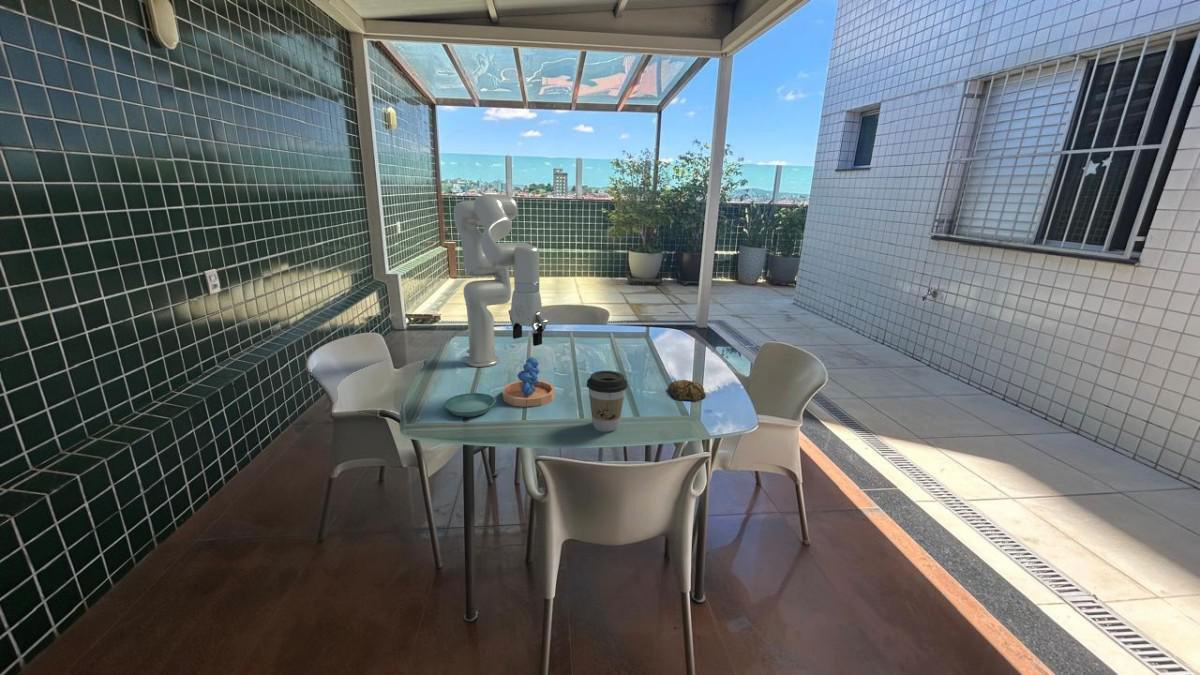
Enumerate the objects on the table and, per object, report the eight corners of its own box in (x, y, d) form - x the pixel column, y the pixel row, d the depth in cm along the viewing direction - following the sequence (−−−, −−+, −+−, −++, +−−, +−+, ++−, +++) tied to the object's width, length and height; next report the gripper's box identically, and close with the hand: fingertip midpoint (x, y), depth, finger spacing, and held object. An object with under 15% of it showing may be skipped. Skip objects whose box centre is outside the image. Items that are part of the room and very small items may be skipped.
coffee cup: (586, 435, 131) (587, 383, 127) (585, 417, 142) (586, 369, 138) (628, 435, 131) (630, 383, 127) (624, 417, 142) (625, 369, 138)
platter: (492, 396, 155) (492, 388, 155) (532, 383, 167) (532, 376, 166) (525, 411, 145) (525, 403, 144) (565, 396, 156) (565, 389, 156)
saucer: (505, 405, 149) (505, 397, 148) (475, 424, 136) (474, 415, 135) (466, 397, 155) (466, 389, 154) (434, 414, 142) (433, 406, 141)
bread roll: (666, 387, 167) (666, 373, 166) (701, 388, 167) (703, 374, 166) (671, 402, 155) (672, 387, 153) (710, 402, 155) (711, 388, 153)
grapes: (524, 386, 162) (523, 351, 159) (543, 388, 161) (543, 353, 158) (510, 399, 151) (509, 362, 148) (531, 401, 150) (530, 364, 147)
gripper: (499, 284, 149) (500, 337, 154) (535, 293, 138) (536, 350, 143) (518, 281, 155) (519, 333, 159) (555, 290, 143) (555, 345, 148)
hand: (527, 341), depth 151 cm, fingers open, 9 cm apart
